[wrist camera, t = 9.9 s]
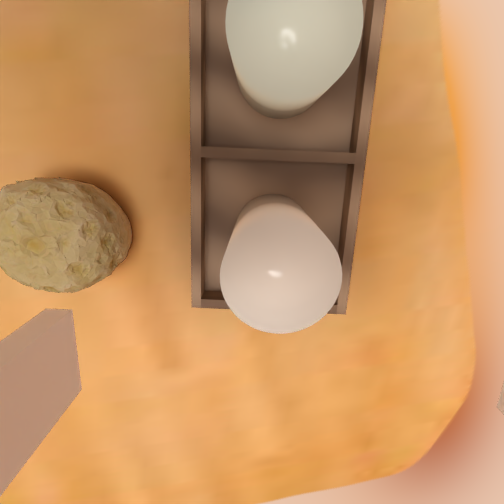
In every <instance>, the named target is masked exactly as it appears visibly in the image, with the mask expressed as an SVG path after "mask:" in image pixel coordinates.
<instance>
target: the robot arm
mask: <svg viewBox="0 0 504 504" xmlns="http://www.w3.org/2000/svg"><path fill="white" fill-rule="evenodd" d="M81 389H82V388H81V380H80V371H79V363H78V355H77V346H76V338H75V330H74V321H73V313H72V310H66V309H45V310H44V311H42V312H41V313H39V314H38V315H37V316H35V317H34V318H32V319H31V320H30V321H28V322H27V323H25V324H24V325H23V326H21V327H20V328H18V329H17V330H16V331H14V332H13V333H11V334H10V335H8V336H7V337H6V338H4V339H3V340H1V341H0V496H1V495H2V493H3V492H4V491H5V489H6V488H7V487H8V485H9V484H10V483H11V482H12V480H13V479H14V478H15V476H16V475H17V474H18V472H19V471H20V470H21V468H22V467H23V466H24V464H25V463H26V462H27V460H28V459H29V458H30V457H31V455H32V454H33V453H34V451H35V450H36V449H37V447H38V446H39V445H40V443H41V442H42V441H43V439H44V438H45V437H46V435H47V434H48V433H49V432H50V430H51V429H52V428H53V426H54V425H55V424H56V422H57V421H58V420H59V418H60V417H61V416H62V414H63V413H64V412H65V410H66V409H67V408H68V407H69V405H70V404H71V403H72V401H73V400H74V399H75V397H76V396H77V395H78V393H79V392H80V391H81ZM497 408H498V409H499V410H500V411H501V412H502V413H503V414H504V383H503V387H502V390H501V393H500V397H499V400H498V404H497Z"/></svg>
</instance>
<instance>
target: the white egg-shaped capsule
mask: <svg viewBox="0 0 504 504" xmlns="http://www.w3.org/2000/svg"><path fill="white" fill-rule="evenodd" d="M225 25H226V37H227V42H228V46H229V50H230V54H231V58H232V62H233V66H234V70H235V74H236V78H237V82H238V85H239V88H240V91H241V93H242V95H243V97H244V99H245V100H246V101H247V103H248V104H249V105H250V106H251V107H252V108H253V109H254V110H256V111H257V112H258V113H260V114H262V115H264V116H266V117H270V118H274V119H287V118H292V117H295V116H297V115H299V114H301V113H303V112H305V111H306V110H307V109H308V108H310V107H311V106H312V105H313V104H314V103H315V102H316V101H317V100H318V99H319V98H320V97H321V96H322V95H323V94H324V93H325V92H326V91H327V90H328V89H329V88H330V87H331V86H332V85H333V84H334V83H335V82H336V81H337V80H338V79H339V78H340V77H341V76H342V74H343V73H344V72H345V71H346V69H347V68H348V67H349V65H350V63H351V62H352V60H353V58H354V56H355V54H356V51H357V49H358V46H359V43H360V40H361V35H362V30H363V4H362V0H228V4H227V9H226V20H225Z"/></svg>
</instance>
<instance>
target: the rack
mask: <svg viewBox="0 0 504 504" xmlns="http://www.w3.org/2000/svg"><path fill="white" fill-rule="evenodd" d="M227 4H228V0H189V27H190V154H191V280H192V307H196V308H218V309H230V308H229V306H228V305H227V303H226V301H225V299H224V297H223V294H222V291H221V285H220V268H221V264H222V260H223V257H224V254H225V252H226V249H227V246H228V243H229V240H230V238H231V235H232V232H233V229H234V227H235V224H236V221H237V218H238V216H239V214H240V212H241V210H242V209H243V207H244V206H245V205H246V204H247V203H248V202H250V201H251V200H253V199H254V198H256V197H258V196H261V195H265V194H280V195H284V196H287V197H289V198H291V199H293V200H294V201H295V202H297V203H298V204H299V205H300V206H301V208H302V209H303V210H304V211H305V212H306V213H307V215H308V216H309V217H310V218H311V219H312V220H313V222H314V223H315V224H316V225H317V226H318V227H319V228H320V230H321V231H322V232H323V233H324V234H325V235H326V237H327V238H328V239H329V240H330V242H331V243H332V244H333V246H334V247H335V249H336V251H337V253H338V256H339V258H340V262H341V266H342V284H341V289H340V292H339V295H338V297H337V299H336V301H335V303H334V305H333V306H332V308H331V309H330V310H329V311H328V314H346V308H347V300H348V293H349V285H350V277H351V269H352V262H353V254H354V246H355V239H356V231H357V223H358V215H359V208H360V200H361V192H362V185H363V177H364V169H365V161H366V154H367V146H368V138H369V130H370V123H371V115H372V107H373V100H374V92H375V84H376V76H377V69H378V61H379V53H380V46H381V38H382V30H383V22H384V15H385V7H386V0H362V4H363V30H362V35H361V40H360V43H359V46H358V49H357V51H356V54H355V56H354V58H353V60H352V62H351V63H350V65H349V67H348V68H347V69H346V71H345V72H344V73H343V74H342V76H341V77H340V78H339V79H338V80H337V81H336V82H335V83H334V84H333V85H332V86H331V87H330V88H329V89H328V90H327V91H326V92H325V93H324V94H323V95H322V96H321V97H320V98H319V99H318V100H317V101H316V102H315V103H314V104H313V105H312V106H311V107H310V108H308V109H307V110H306V111H305V112H303V113H301V114H299V115H297V116H295V117H292V118H287V119H274V118H270V117H266V116H264V115H262V114H260V113H258V112H257V111H256V110H254V109H253V108H252V107H251V106H250V105H249V104H248V103H247V101H246V100H245V99H244V97H243V95H242V93H241V91H240V88H239V85H238V82H237V78H236V74H235V70H234V66H233V62H232V58H231V54H230V50H229V46H228V42H227V37H226V25H225V20H226V9H227Z"/></svg>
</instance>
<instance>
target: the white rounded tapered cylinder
mask: <svg viewBox="0 0 504 504" xmlns="http://www.w3.org/2000/svg"><path fill="white" fill-rule="evenodd" d="M341 284H342V266H341V262H340V258H339V256H338V253H337V251H336V249H335V247H334V246H333V244H332V243H331V242H330V240H329V239H328V238H327V237H326V235H325V234H324V233H323V232H322V231H321V230H320V228H319V227H318V226H317V225H316V224H315V223H314V222H313V220H312V219H311V218H310V217H309V216H308V215H307V213H306V212H305V211H304V210H303V209H302V208H301V206H300V205H299V204H298V203H297V202H295V201H294V200H293V199H291V198H289V197H287V196H284V195H280V194H265V195H261V196H258V197H256V198H254V199H253V200H251V201H250V202H248V203H247V204H246V205H245V206H244V207H243V209H242V210H241V212H240V214H239V216H238V218H237V221H236V224H235V227H234V229H233V232H232V235H231V238H230V240H229V243H228V246H227V249H226V252H225V254H224V257H223V260H222V264H221V268H220V285H221V291H222V294H223V297H224V299H225V301H226V303H227V305H228V306H229V308H230V309H231V311H232V312H233V313H234V314H235V315H236V316H237V317H238V318H239V319H240V320H241V321H243V322H244V323H246V324H247V325H249V326H251V327H253V328H255V329H258V330H261V331H264V332H269V333H277V334H278V333H292V332H296V331H300V330H302V329H305V328H307V327H309V326H311V325H313V324H315V323H316V322H318V321H319V320H320V319H321V318H323V317H324V316H325V315H326V314H327V313H328V311H329V310H330V309H331V308H332V306H333V305H334V303H335V301H336V299H337V297H338V295H339V292H340V289H341Z"/></svg>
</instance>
